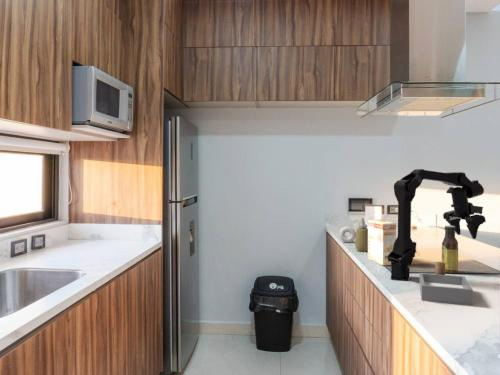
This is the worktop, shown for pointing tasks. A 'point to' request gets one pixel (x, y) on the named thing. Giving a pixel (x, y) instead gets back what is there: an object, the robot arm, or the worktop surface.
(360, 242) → the squeeze bottle
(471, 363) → the worktop surface
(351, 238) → the donut
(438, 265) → the peg
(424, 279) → the box
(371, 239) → the coffeecake box
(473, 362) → the worktop surface
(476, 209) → the robot arm
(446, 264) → the sauce bottle
